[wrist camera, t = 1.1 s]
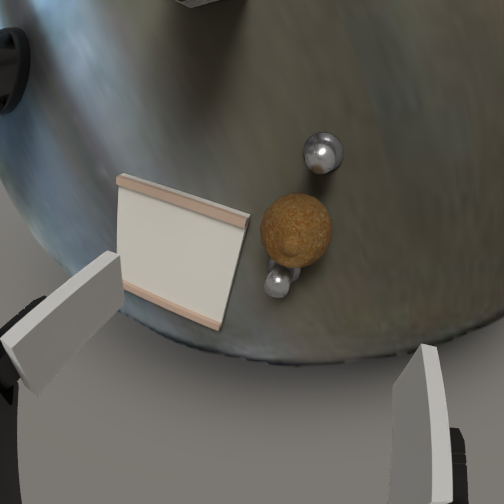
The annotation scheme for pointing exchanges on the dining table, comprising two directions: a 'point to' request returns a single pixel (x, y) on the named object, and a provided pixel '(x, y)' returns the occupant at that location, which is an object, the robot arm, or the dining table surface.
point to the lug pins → (318, 161)
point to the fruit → (296, 230)
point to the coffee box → (194, 2)
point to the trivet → (178, 248)
